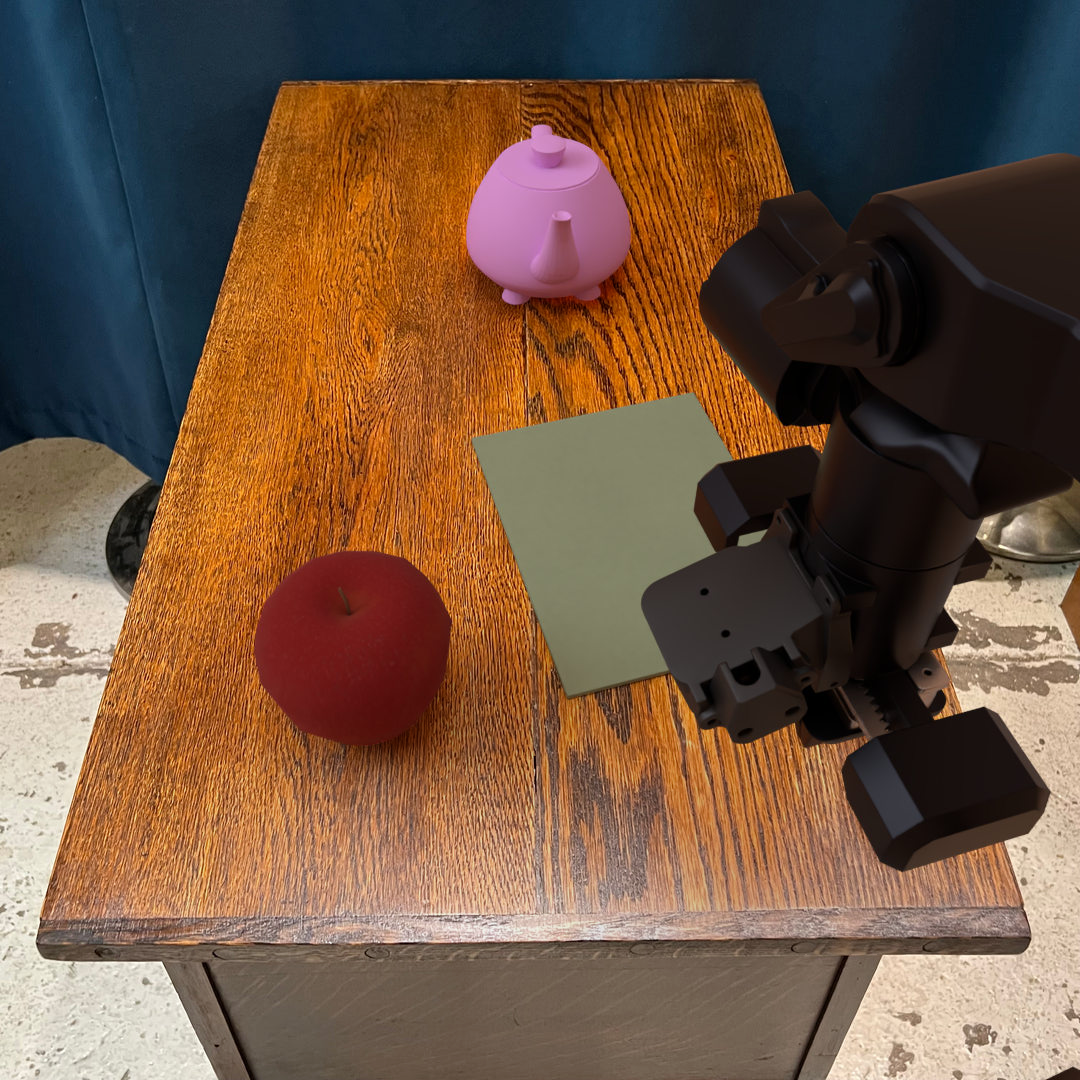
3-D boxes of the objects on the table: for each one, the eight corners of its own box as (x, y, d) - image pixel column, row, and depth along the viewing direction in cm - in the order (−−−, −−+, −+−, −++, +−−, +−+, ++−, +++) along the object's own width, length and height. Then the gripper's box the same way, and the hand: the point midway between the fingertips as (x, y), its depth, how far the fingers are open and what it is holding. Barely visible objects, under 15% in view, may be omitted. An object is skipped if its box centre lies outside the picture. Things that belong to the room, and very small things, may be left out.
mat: (832, 631, 70) (833, 627, 69) (567, 699, 66) (567, 696, 66) (692, 395, 85) (693, 391, 84) (471, 441, 81) (471, 437, 81)
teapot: (645, 346, 89) (657, 212, 79) (473, 355, 88) (465, 221, 79) (614, 212, 102) (621, 83, 92) (464, 220, 101) (456, 91, 92)
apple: (303, 812, 61) (262, 701, 52) (261, 669, 68) (218, 548, 59) (484, 747, 64) (474, 631, 55) (427, 615, 71) (410, 492, 62)
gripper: (591, 384, 42) (581, 623, 54) (799, 802, 30) (728, 990, 42) (848, 333, 44) (784, 574, 56) (1137, 705, 32) (979, 911, 44)
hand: (810, 739), depth 49 cm, fingers closed
